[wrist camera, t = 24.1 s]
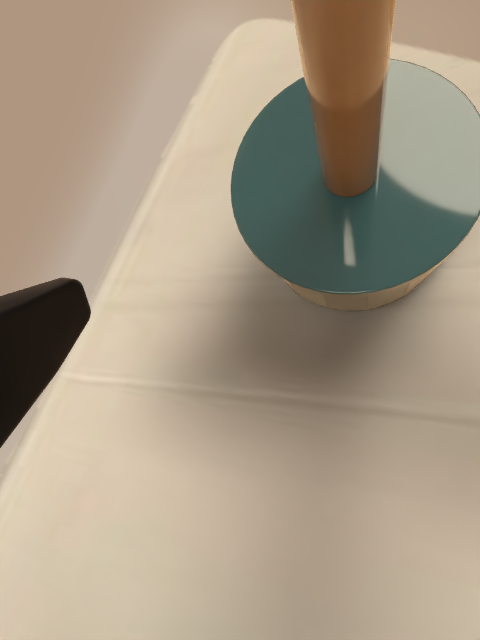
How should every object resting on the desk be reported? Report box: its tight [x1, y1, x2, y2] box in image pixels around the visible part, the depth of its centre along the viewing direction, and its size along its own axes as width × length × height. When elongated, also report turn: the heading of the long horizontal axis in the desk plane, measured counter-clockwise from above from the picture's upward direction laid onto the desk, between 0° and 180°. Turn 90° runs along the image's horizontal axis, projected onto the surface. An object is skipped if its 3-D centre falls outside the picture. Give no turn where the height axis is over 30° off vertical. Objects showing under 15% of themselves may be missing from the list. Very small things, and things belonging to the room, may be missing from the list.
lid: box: [231, 0, 480, 297], centre depth 12 cm, size 10×10×11 cm
